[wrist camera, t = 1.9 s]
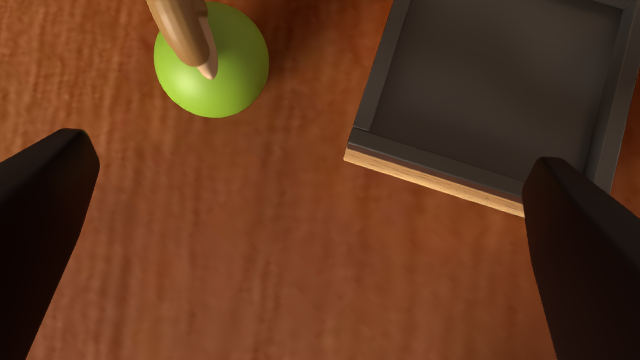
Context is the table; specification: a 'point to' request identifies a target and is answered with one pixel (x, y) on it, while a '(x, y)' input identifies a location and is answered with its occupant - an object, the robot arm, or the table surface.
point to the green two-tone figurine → (208, 56)
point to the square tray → (498, 93)
